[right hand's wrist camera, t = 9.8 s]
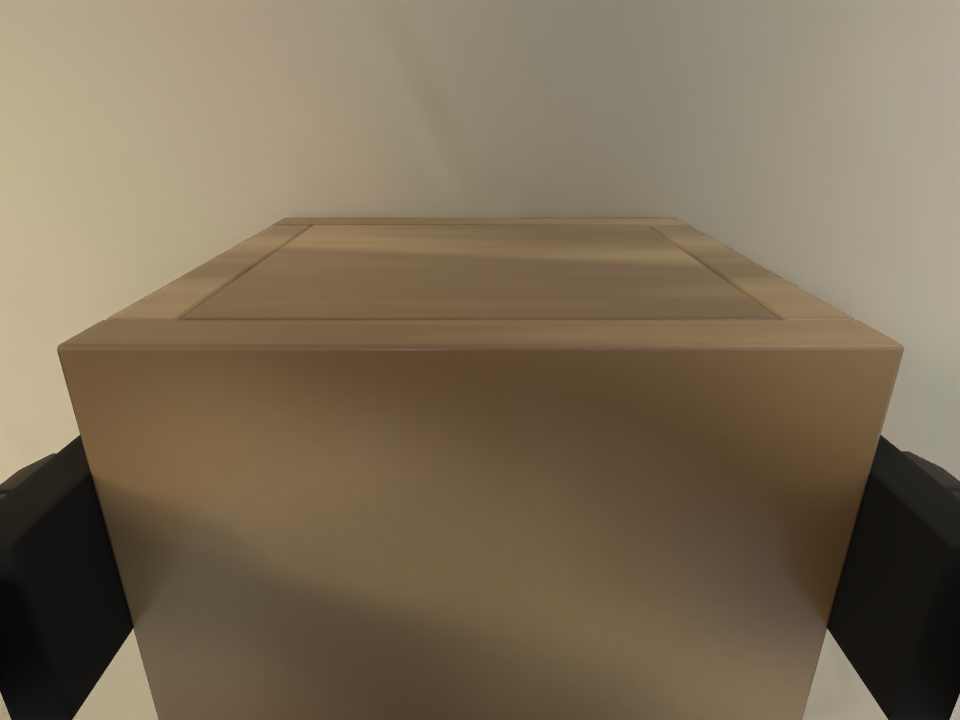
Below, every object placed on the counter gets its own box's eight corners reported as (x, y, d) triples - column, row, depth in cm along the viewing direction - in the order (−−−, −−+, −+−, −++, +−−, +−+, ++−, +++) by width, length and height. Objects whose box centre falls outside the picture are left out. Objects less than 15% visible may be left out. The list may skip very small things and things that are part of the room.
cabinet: (623, 675, 22) (715, 1040, 14) (336, 676, 22) (244, 1040, 14) (677, 217, 16) (908, 345, 8) (282, 217, 16) (52, 345, 8)
